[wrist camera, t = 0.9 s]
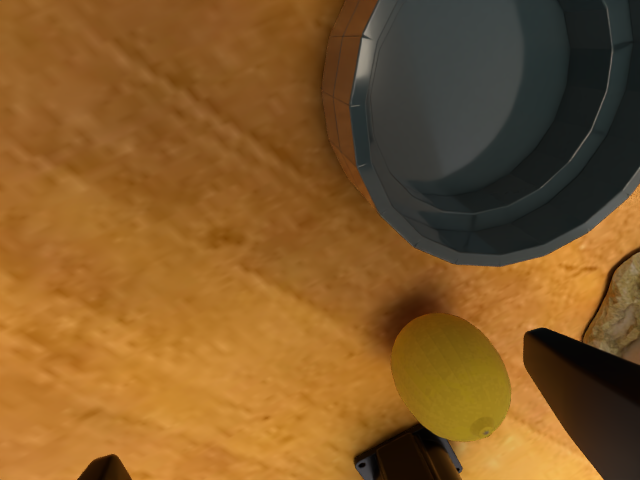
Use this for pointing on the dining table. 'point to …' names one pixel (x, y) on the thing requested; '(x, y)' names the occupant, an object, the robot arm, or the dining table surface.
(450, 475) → the robot arm
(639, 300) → the ceramic model
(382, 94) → the grey pet bowl
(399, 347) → the lemon
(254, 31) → the dining table surface
